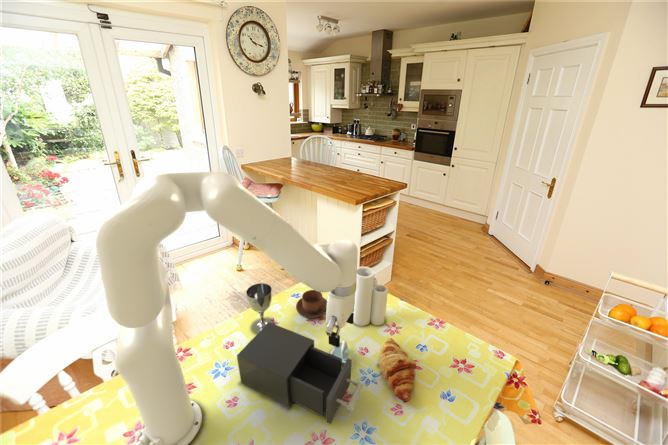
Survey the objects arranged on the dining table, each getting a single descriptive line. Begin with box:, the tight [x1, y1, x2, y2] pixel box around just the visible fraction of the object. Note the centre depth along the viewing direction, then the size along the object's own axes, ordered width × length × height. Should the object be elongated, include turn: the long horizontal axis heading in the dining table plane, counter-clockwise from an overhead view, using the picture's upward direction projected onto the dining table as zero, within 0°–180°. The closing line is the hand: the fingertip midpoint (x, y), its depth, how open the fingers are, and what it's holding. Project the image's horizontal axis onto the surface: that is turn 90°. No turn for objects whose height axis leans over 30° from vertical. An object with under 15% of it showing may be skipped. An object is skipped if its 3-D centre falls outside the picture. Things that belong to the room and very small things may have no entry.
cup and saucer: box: [295, 289, 328, 319], centre depth 106 cm, size 12×12×6 cm
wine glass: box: [245, 282, 274, 335], centre depth 96 cm, size 8×8×15 cm
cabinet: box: [236, 322, 315, 409], centre depth 80 cm, size 16×14×11 cm
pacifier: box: [329, 340, 351, 364], centre depth 87 cm, size 7×6×6 cm
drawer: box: [288, 346, 364, 425], centre depth 75 cm, size 19×12×9 cm, turn 64°
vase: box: [352, 265, 389, 327], centre depth 100 cm, size 11×7×20 cm, turn 95°
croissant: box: [378, 337, 417, 404], centre depth 83 cm, size 21×10×8 cm, turn 3°
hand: (341, 333), depth 84 cm, fingers open, 9 cm apart
